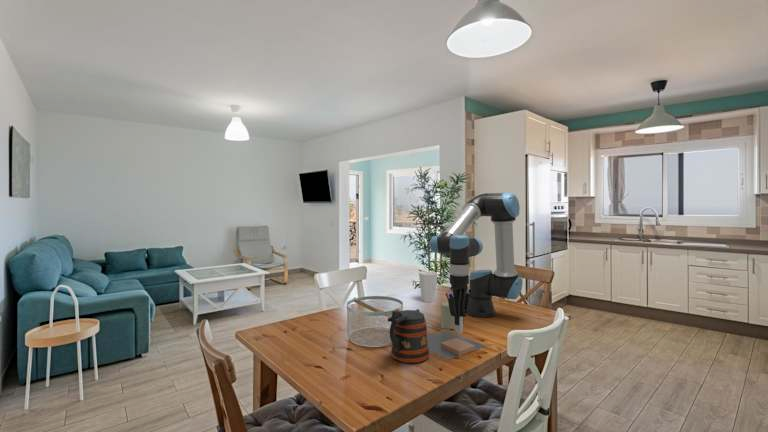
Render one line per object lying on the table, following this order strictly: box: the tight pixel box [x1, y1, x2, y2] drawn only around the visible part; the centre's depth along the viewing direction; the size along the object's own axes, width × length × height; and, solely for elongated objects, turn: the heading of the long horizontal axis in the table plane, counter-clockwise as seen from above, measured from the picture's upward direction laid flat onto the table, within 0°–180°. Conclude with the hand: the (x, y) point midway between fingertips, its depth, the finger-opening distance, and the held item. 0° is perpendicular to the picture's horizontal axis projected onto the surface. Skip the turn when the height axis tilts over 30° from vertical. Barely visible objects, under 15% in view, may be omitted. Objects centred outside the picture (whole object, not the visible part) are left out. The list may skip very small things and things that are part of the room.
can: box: [440, 300, 455, 330], centre depth 171 cm, size 9×9×12 cm
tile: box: [441, 338, 476, 357], centre depth 144 cm, size 2×10×9 cm
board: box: [427, 329, 487, 361], centre depth 149 cm, size 22×22×1 cm
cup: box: [418, 270, 438, 303], centre depth 218 cm, size 11×10×17 cm
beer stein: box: [387, 308, 430, 364], centre depth 138 cm, size 19×15×20 cm
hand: (459, 332), depth 144 cm, fingers closed
